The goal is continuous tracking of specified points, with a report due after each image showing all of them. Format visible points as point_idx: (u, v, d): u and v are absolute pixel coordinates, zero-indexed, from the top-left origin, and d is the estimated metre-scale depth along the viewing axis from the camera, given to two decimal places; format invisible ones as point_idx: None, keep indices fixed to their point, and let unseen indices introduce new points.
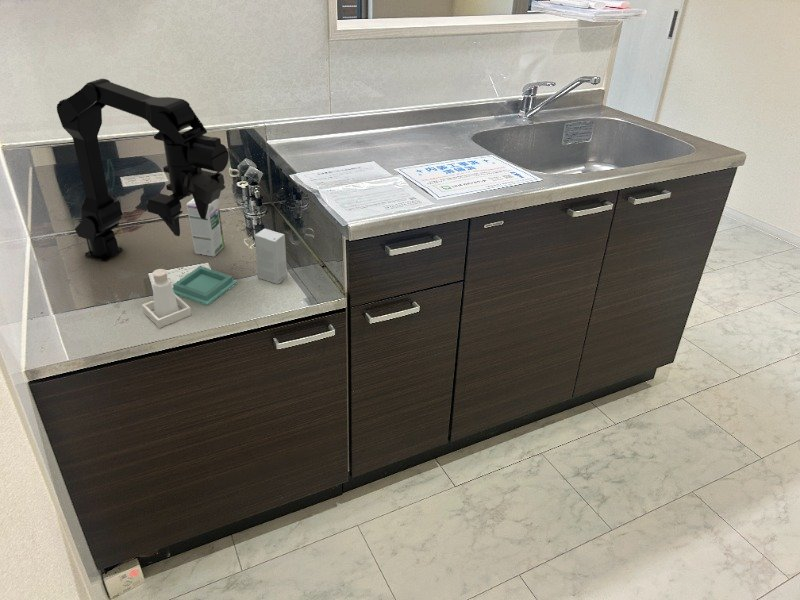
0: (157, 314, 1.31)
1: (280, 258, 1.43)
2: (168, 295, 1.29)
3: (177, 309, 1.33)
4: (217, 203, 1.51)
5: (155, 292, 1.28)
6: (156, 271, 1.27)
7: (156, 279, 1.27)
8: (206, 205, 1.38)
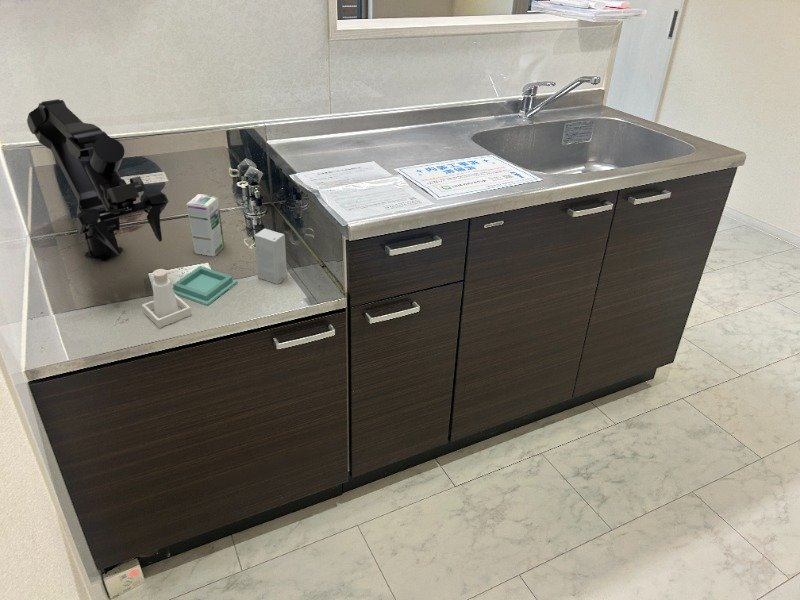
0: (157, 314, 1.31)
1: (280, 258, 1.43)
2: (168, 295, 1.29)
3: (177, 309, 1.33)
4: (217, 203, 1.51)
5: (155, 292, 1.28)
6: (156, 271, 1.27)
7: (156, 279, 1.27)
8: (156, 224, 1.32)
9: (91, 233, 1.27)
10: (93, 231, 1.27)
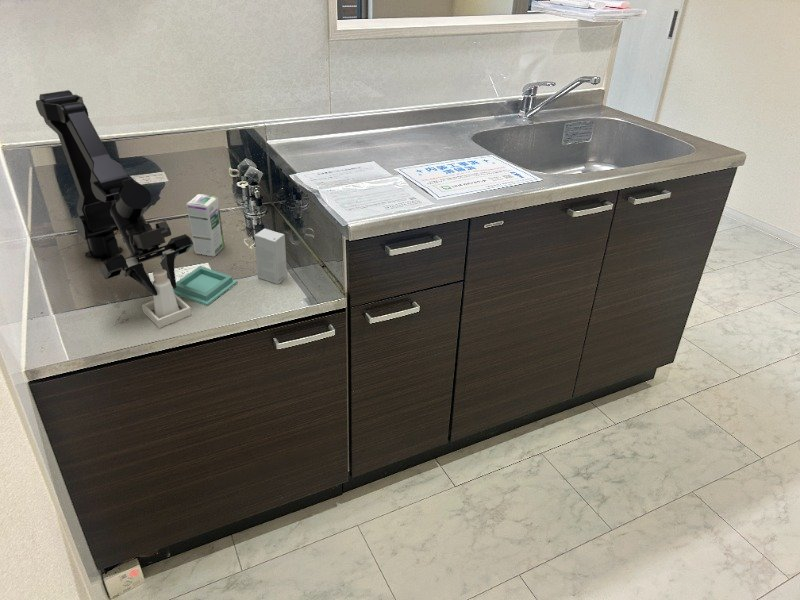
0: (157, 314, 1.31)
1: (280, 258, 1.43)
2: (168, 295, 1.29)
3: (177, 309, 1.33)
4: (217, 203, 1.51)
5: None
6: (156, 271, 1.27)
7: (156, 279, 1.27)
8: (170, 271, 1.30)
9: (128, 274, 1.27)
10: (130, 273, 1.27)
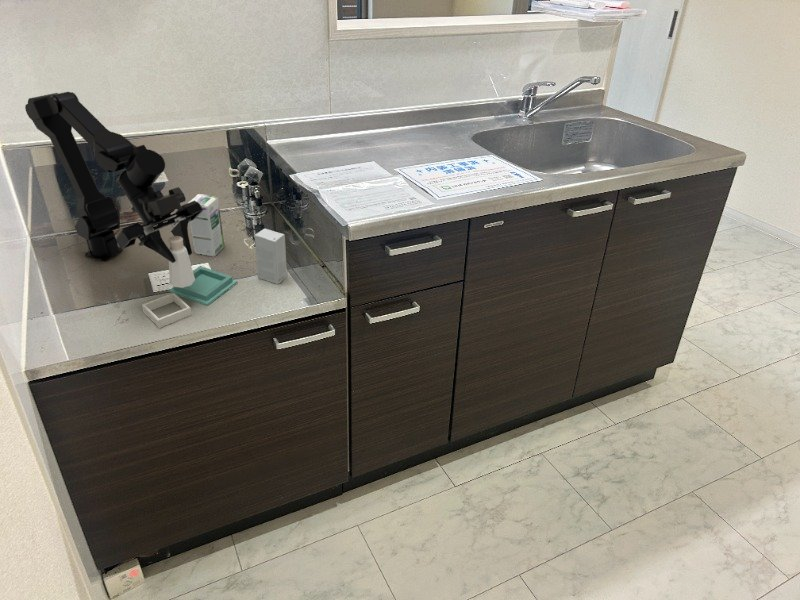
0: (174, 282, 1.32)
1: (280, 258, 1.43)
2: (185, 261, 1.30)
3: (193, 276, 1.34)
4: (217, 203, 1.51)
5: None
6: (172, 238, 1.28)
7: (173, 246, 1.28)
8: (185, 238, 1.31)
9: (143, 243, 1.27)
10: (146, 241, 1.27)
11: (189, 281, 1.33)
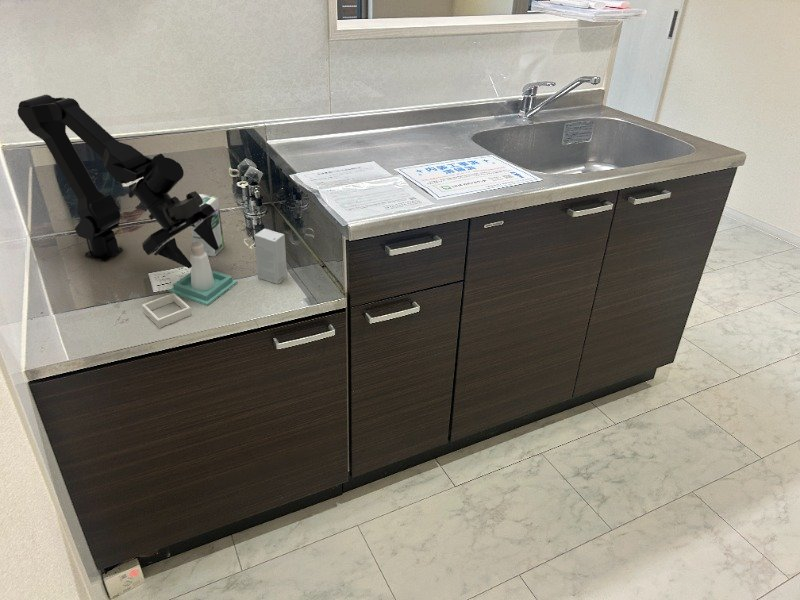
0: (197, 286, 1.40)
1: (280, 258, 1.43)
2: (207, 265, 1.39)
3: (213, 278, 1.42)
4: (217, 203, 1.51)
5: (195, 265, 1.37)
6: (193, 244, 1.36)
7: (196, 252, 1.36)
8: (211, 234, 1.40)
9: (159, 252, 1.32)
10: (162, 250, 1.31)
11: (211, 283, 1.41)
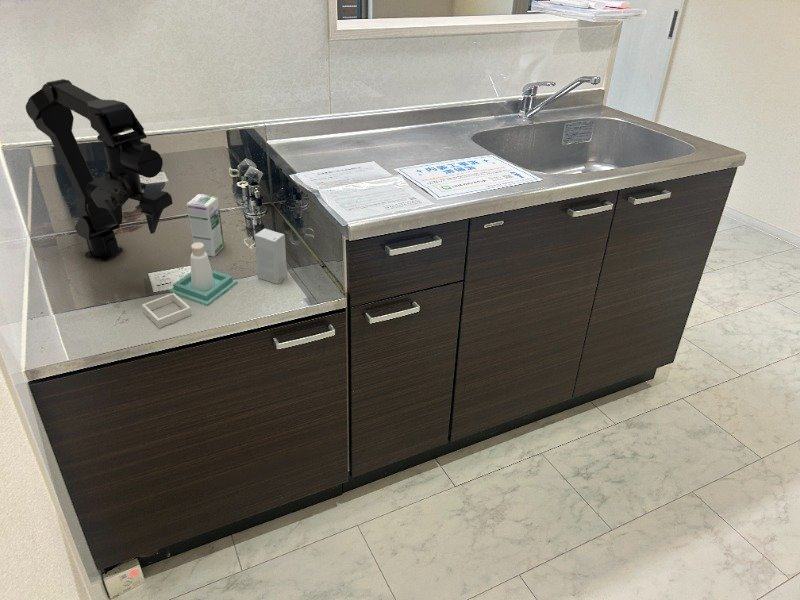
0: (198, 286, 1.40)
1: (280, 258, 1.43)
2: (207, 265, 1.39)
3: (213, 278, 1.42)
4: (217, 203, 1.51)
5: (196, 265, 1.37)
6: (194, 245, 1.36)
7: (196, 252, 1.36)
8: (148, 221, 1.33)
9: None
10: None
11: (211, 284, 1.41)
